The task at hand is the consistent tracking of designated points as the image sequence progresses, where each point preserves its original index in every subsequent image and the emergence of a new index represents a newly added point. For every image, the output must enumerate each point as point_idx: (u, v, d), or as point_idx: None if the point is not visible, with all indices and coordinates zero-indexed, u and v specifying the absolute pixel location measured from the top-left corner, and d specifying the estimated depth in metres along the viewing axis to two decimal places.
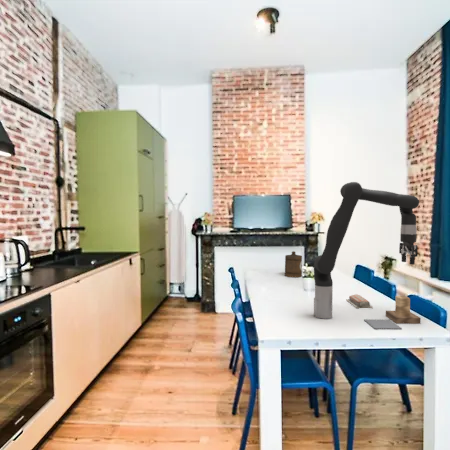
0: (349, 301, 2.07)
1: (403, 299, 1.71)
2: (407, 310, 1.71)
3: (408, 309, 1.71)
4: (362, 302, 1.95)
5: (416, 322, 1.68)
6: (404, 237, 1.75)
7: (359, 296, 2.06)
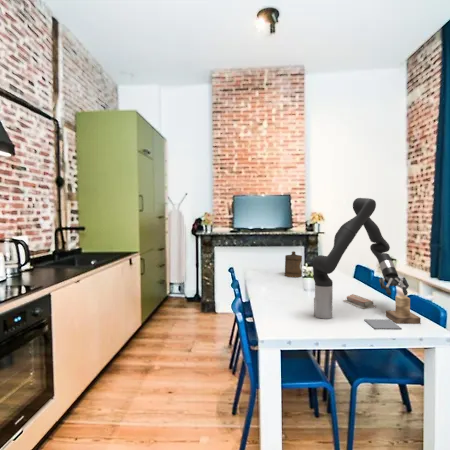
0: (348, 302, 2.05)
1: (403, 299, 1.71)
2: (407, 310, 1.71)
3: (408, 309, 1.71)
4: (367, 302, 1.95)
5: (416, 322, 1.68)
6: (395, 270, 1.85)
7: (357, 296, 2.06)
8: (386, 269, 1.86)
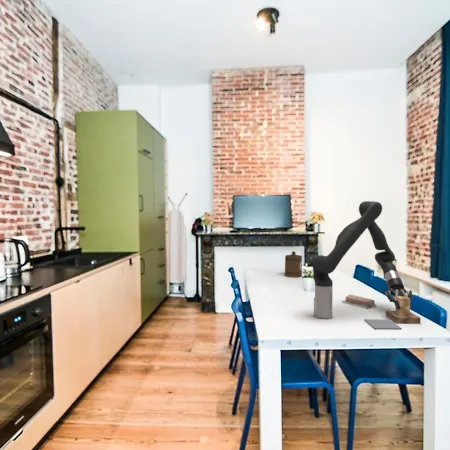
0: (349, 302, 2.04)
1: (403, 299, 1.71)
2: (407, 310, 1.71)
3: (408, 309, 1.71)
4: (370, 302, 1.96)
5: (416, 322, 1.68)
6: (400, 281, 1.79)
7: (356, 296, 2.06)
8: (391, 280, 1.80)
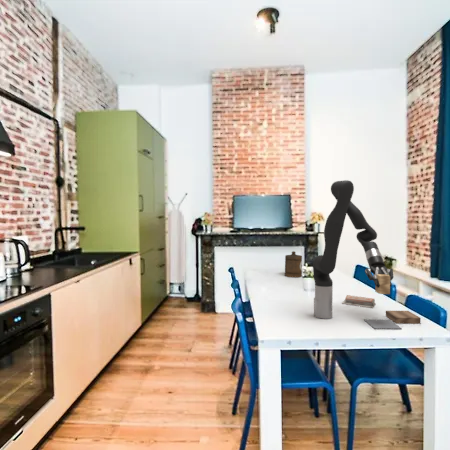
0: (350, 303, 2.02)
1: (383, 277, 1.63)
2: (386, 288, 1.63)
3: (388, 287, 1.63)
4: (373, 301, 1.98)
5: (416, 322, 1.68)
6: (381, 259, 1.71)
7: (354, 296, 2.06)
8: (372, 258, 1.72)
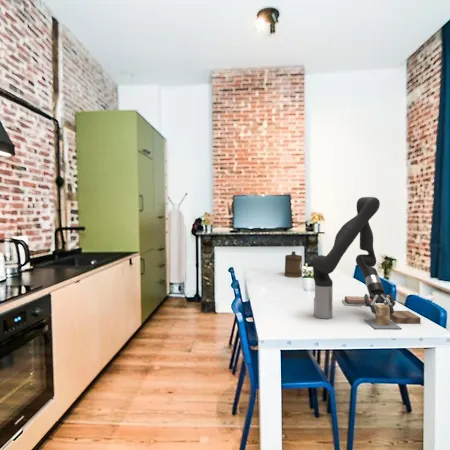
0: (353, 304, 2.00)
1: (382, 308, 1.64)
2: (386, 319, 1.64)
3: (388, 318, 1.64)
4: None
5: (416, 322, 1.68)
6: (381, 285, 1.72)
7: (353, 296, 2.05)
8: (371, 285, 1.73)
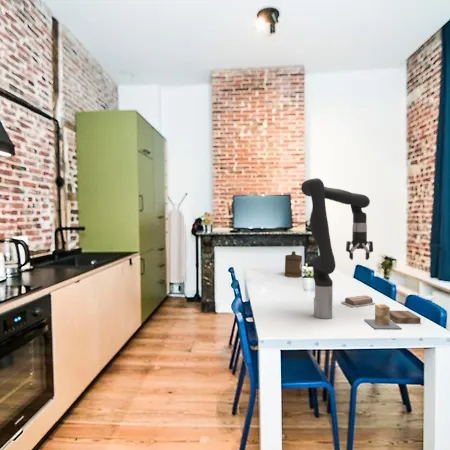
0: (359, 305, 1.98)
1: (382, 308, 1.64)
2: (386, 319, 1.64)
3: (388, 318, 1.64)
4: None
5: (416, 322, 1.68)
6: (365, 235, 1.82)
7: (353, 297, 2.04)
8: (356, 234, 1.83)
